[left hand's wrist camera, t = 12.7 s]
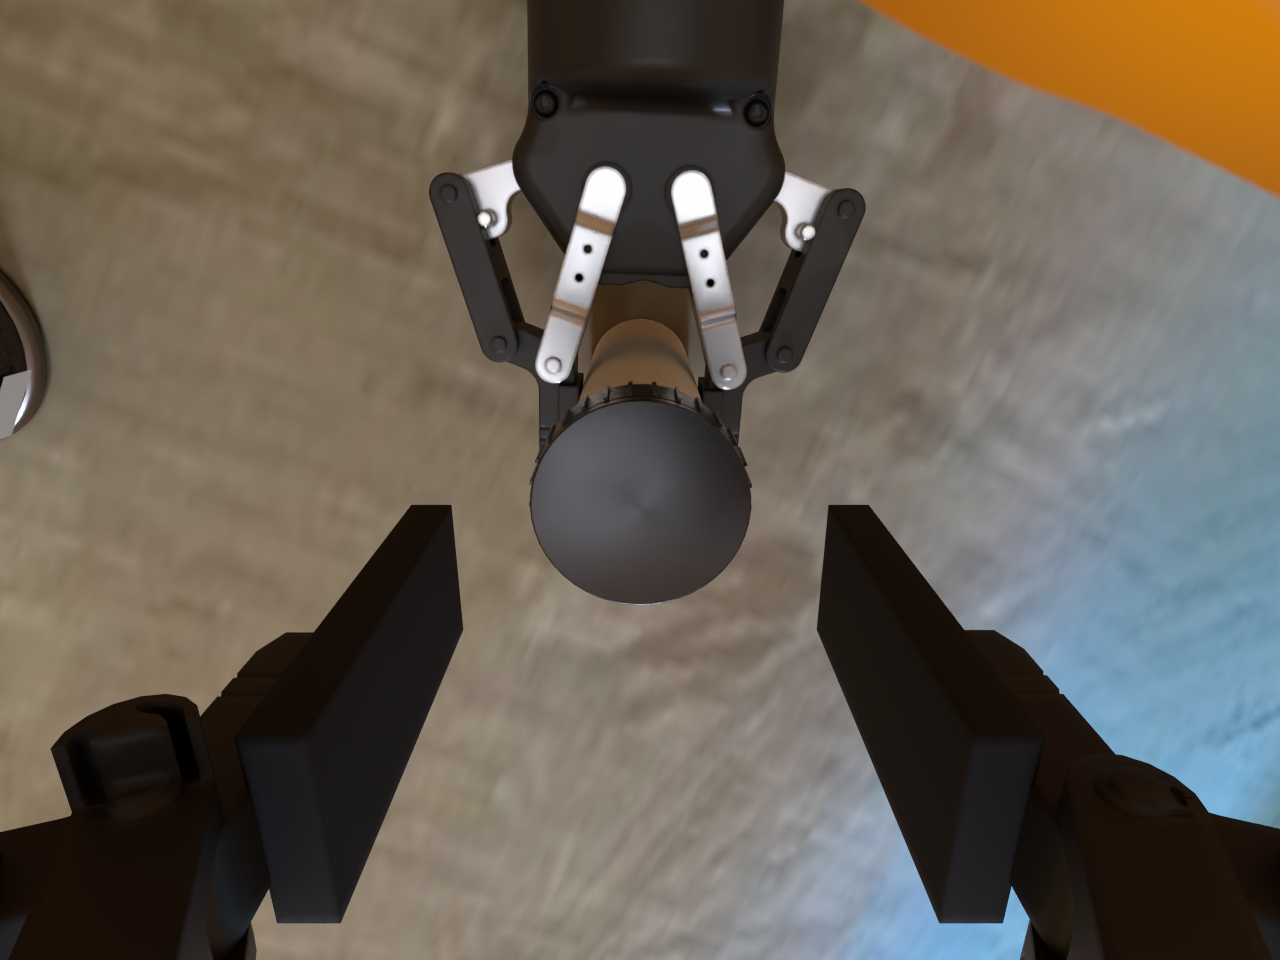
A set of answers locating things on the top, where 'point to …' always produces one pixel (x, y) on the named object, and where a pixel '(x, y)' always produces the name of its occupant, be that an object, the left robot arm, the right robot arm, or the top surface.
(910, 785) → the left robot arm
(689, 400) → the lid
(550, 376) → the right robot arm
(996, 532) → the top surface
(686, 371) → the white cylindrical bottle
